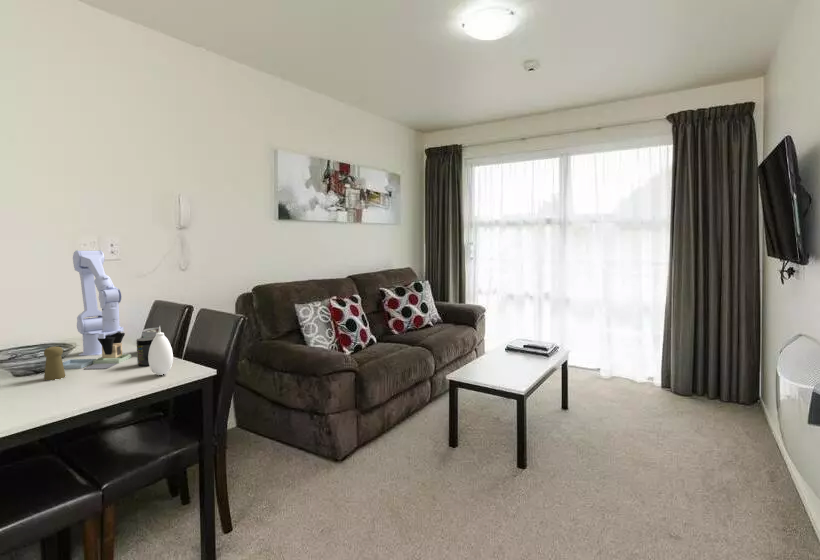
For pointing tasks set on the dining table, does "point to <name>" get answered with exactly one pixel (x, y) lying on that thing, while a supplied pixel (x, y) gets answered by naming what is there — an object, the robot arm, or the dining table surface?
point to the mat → (100, 366)
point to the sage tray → (112, 359)
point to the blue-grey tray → (77, 363)
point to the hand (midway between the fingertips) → (112, 352)
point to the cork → (54, 363)
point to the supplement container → (143, 351)
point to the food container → (150, 332)
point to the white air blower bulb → (160, 354)
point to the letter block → (114, 351)
